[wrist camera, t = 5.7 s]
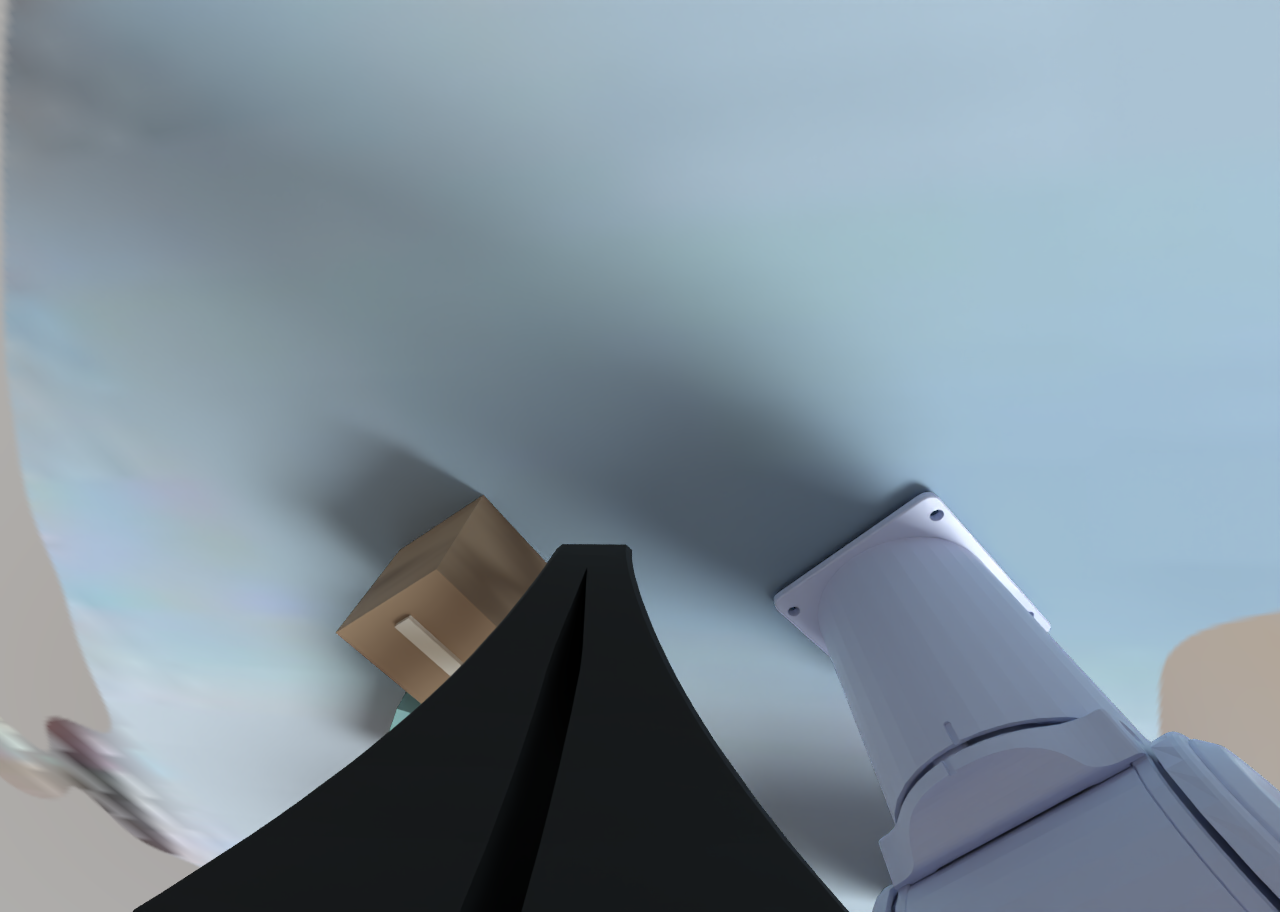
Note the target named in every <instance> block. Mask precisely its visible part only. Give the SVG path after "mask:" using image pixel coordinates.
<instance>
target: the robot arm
mask: <svg viewBox="0 0 1280 912" xmlns="http://www.w3.org/2000/svg"><path fill="white" fill-rule="evenodd" d="M935 510H939V511H938V513H937V514H936V515H933V516H930V514H931V513H932V512H933V511H935ZM774 605H775V608H776V609H777V611H779V612H780V613H781V614H782V615H783V616H784V617H785V618H787V619H788V620H789V621H790V622H791V623H792V624H793V625H794V626H796V627H797V628H798V629H799V630H800V631H801V632H802V633H803V634H805V635H806V636H807V637H808V638H809V639H810V640H811V641H812V642H814V643H815V644H816V645H817V646H818V647H819V648H820V649H821V650H823V651H824V652H825V653H826V654H827V655H828V656H829V657H830V658H831V659H832V662H833V665H834V667H835V670H836V672H837V675H838V678H839V680H840V683H841V685H842V688H843V691H844V693H845V696H846V698H847V701H848V704H849V706H850V709H851V711H852V714H853V717H854V719H855V722H856V724H857V727H858V730H859V732H860V735H861V737H862V740H863V743H864V745H865V748H866V750H867V753H868V756H869V758H870V761H871V763H872V766H873V769H874V771H875V774H876V776H877V779H878V782H879V784H880V787H881V789H882V792H883V795H884V797H885V800H886V802H887V805H888V808H889V810H890V813H891V815H892V818H893V821H894V823H895V826H894V828H893V829H892V830H891V831H890V832H889V833H888V834H887V835H885V836H884V837H882V838H881V839H880V840H879V841H878V843H879V846H880V849H881V852H882V855H883V857H884V860H885V863H886V866H887V869H888V872H889V875H890V878H891V880H892V883H893V884H892V885H890V886H888V887H886V888H884V889H883V891H882V892H881V893H880V895H879V896H878V897H877V899H876V901H875V904H874V907H873V911H872V912H1280V791H1279V790H1278V789H1276V788H1275V787H1274V786H1273V785H1272V784H1270V783H1269V782H1268V781H1267V780H1266V779H1264V778H1263V777H1262V776H1261V775H1260V774H1258V773H1257V772H1256V771H1255V770H1253V769H1252V768H1251V767H1250V766H1249V765H1248V764H1246V763H1245V762H1244V761H1243V760H1241V759H1240V758H1239V757H1238V756H1236V755H1235V754H1233V753H1232V752H1231V751H1229V750H1228V749H1227V748H1225V747H1223V746H1221V745H1218V744H1214V743H1209V742H1205V741H1201V740H1197V739H1192V740H1191V739H1189V738H1188V737H1186V736H1185V735H1183V734H1180V733H1177V732H1169V733H1166V734H1164V735H1162V736H1161V737H1159V738H1157V739H1155V740H1154V741H1152V743H1151V742H1150V741H1149V740H1147V739H1146V738H1145V737H1144V736H1143V735H1142V734H1141V733H1140V732H1139V731H1138V730H1137V729H1136V727H1135V726H1134V725H1133V724H1132V723H1131V722H1130V721H1129V720H1128V719H1127V718H1126V717H1125V716H1124V714H1123V713H1122V712H1121V711H1120V710H1119V709H1118V708H1117V707H1116V706H1115V705H1114V704H1113V703H1112V702H1111V700H1110V699H1109V698H1108V697H1107V696H1106V695H1105V694H1104V693H1103V692H1102V691H1101V690H1100V689H1099V687H1098V686H1097V685H1096V684H1095V683H1094V682H1093V681H1092V680H1091V679H1090V678H1089V677H1088V676H1087V675H1086V673H1085V672H1084V671H1083V670H1082V669H1081V668H1080V667H1079V666H1078V665H1077V664H1076V663H1075V662H1074V661H1073V659H1072V658H1071V657H1070V656H1069V655H1068V654H1067V653H1066V652H1065V651H1064V650H1063V649H1062V648H1061V646H1060V645H1059V644H1058V643H1057V642H1056V641H1055V640H1054V639H1053V638H1052V637H1051V636H1050V635H1049V634H1048V631H1049V630H1050V626H1051V625H1050V623H1049V621H1048V620H1047V619H1046V618H1045V617H1044V616H1043V615H1042V613H1041V612H1040V611H1039V610H1038V609H1037V608H1036V607H1035V606H1034V604H1033V603H1032V602H1031V601H1030V600H1029V599H1028V598H1027V596H1026V595H1025V594H1024V593H1023V592H1022V591H1021V590H1020V589H1019V587H1018V586H1017V585H1016V584H1015V583H1014V582H1013V581H1012V579H1011V578H1010V577H1009V576H1008V575H1007V574H1006V573H1005V572H1004V570H1003V569H1002V568H1001V567H1000V566H999V565H998V564H997V562H996V561H995V560H994V559H993V558H992V557H991V556H990V555H989V553H988V552H987V551H986V550H985V549H984V548H983V547H982V545H981V544H980V543H979V542H978V541H977V540H976V539H975V538H974V536H973V535H972V534H971V533H970V532H969V531H968V530H967V528H966V527H965V526H964V525H963V524H962V523H961V522H960V520H959V519H958V518H957V517H956V516H955V515H954V514H953V513H952V511H951V510H950V509H949V508H948V507H947V506H946V505H945V503H944V502H943V501H942V500H941V499H940V498H939V497H938V496H937V495H936V494H934V493H932V492H924V493H922V494H920V495H918V496H916V497H915V498H914V499H912V500H911V501H909V502H908V503H906V504H905V505H903V506H902V507H901V508H899V509H898V510H896V511H895V512H893V513H892V514H891V515H889V516H888V517H886V518H885V519H883V520H882V521H880V522H879V523H878V524H876V525H875V526H873V527H872V528H870V529H869V530H868V531H866V532H865V533H863V534H862V535H860V536H859V537H857V538H856V539H855V540H853V541H852V542H850V543H849V544H847V545H846V546H845V547H843V548H842V549H840V550H839V551H837V552H836V553H834V554H833V555H832V556H830V557H829V558H827V559H826V560H824V561H823V562H822V563H820V564H819V565H817V566H816V567H814V568H813V569H811V570H810V571H809V572H807V573H806V574H804V575H803V576H801V577H800V578H799V579H797V580H796V581H794V582H793V583H791V584H790V585H788V586H787V587H786V588H784V589H783V590H781V591H780V592H778V593H777V594H776V595H775V597H774ZM791 607H797V608H796V609H794V610H789V609H790V608H791ZM133 912H849V911H848V910H847V909H846V908H845V907H844V905H843V904H842V903H841V902H840V901H839V900H838V899H837V897H836V896H835V895H834V894H833V893H832V892H831V891H830V889H829V888H828V887H827V886H826V885H825V884H824V883H823V881H822V880H821V879H820V878H819V877H818V876H817V874H816V873H815V872H814V871H813V870H812V868H811V867H810V866H809V865H808V864H807V862H806V861H805V860H804V859H803V858H802V856H801V855H800V854H799V853H798V852H797V850H796V849H795V848H794V847H793V846H792V844H791V843H790V842H789V841H788V840H787V838H786V837H785V836H784V834H783V833H782V832H781V831H780V829H779V828H778V827H777V825H776V824H775V823H774V822H773V820H772V819H771V818H770V817H769V815H768V814H767V813H766V811H765V810H764V809H763V808H762V806H761V805H760V804H759V802H758V801H757V800H756V799H755V797H754V796H753V794H752V793H751V792H750V790H749V789H748V787H747V786H746V784H745V783H744V782H743V780H742V779H741V777H740V776H739V775H738V773H737V772H736V770H735V769H734V768H733V766H732V765H731V763H730V762H729V760H728V759H727V758H726V756H725V755H724V753H723V752H722V751H721V749H720V748H719V746H718V745H717V744H716V742H715V741H714V739H713V737H712V736H711V734H710V733H709V731H708V729H707V728H706V726H705V725H704V723H703V722H702V720H701V718H700V717H699V715H698V714H697V712H696V710H695V709H694V707H693V705H692V703H691V702H690V700H689V698H688V697H687V695H686V693H685V691H684V690H683V688H682V686H681V684H680V682H679V681H678V679H677V677H676V675H675V673H674V671H673V669H672V667H671V665H670V663H669V661H668V659H667V657H666V655H665V653H664V651H663V649H662V647H661V645H660V643H659V640H658V638H657V636H656V633H655V631H654V629H653V627H652V624H651V621H650V619H649V616H648V614H647V611H646V609H645V606H644V604H643V601H642V598H641V595H640V592H639V588H638V585H637V581H636V578H635V574H634V570H633V564H632V550H631V549H630V548H629V547H628V546H627V545H598V544H562V545H561V546H560V547H559V548H557V549H556V551H555V552H554V554H553V555H552V557H551V558H550V560H549V561H548V563H547V564H546V565H545V567H544V568H543V570H542V571H541V572H540V574H539V575H538V576H537V578H536V579H535V580H534V582H533V583H532V584H531V586H530V587H529V588H528V590H527V591H526V592H525V593H524V595H523V596H522V597H521V598H520V600H519V601H518V602H517V603H516V605H515V606H514V607H513V608H512V609H511V611H510V612H509V613H508V614H507V616H506V617H505V618H504V619H503V620H502V622H501V623H500V624H499V625H498V626H497V627H496V628H495V629H494V631H493V632H492V633H491V634H490V635H489V636H488V637H487V638H486V639H485V640H484V642H483V643H482V644H481V645H480V646H479V647H478V648H477V649H476V650H475V651H474V653H473V654H472V655H471V656H470V657H469V658H468V659H467V660H466V661H465V662H464V663H463V664H462V665H461V666H460V667H459V668H458V669H457V670H456V671H455V672H454V673H453V674H452V675H451V676H450V677H449V678H448V679H447V680H446V681H445V682H444V683H443V684H442V685H441V686H440V687H439V688H438V689H437V690H436V691H434V692H433V693H432V694H431V695H430V696H429V697H428V698H427V699H426V700H425V701H424V702H423V703H422V704H420V705H419V706H418V707H417V708H416V709H415V710H414V711H413V712H411V713H410V714H409V715H408V716H407V717H406V718H404V719H403V720H402V721H401V722H400V723H399V724H397V725H396V726H395V727H394V728H393V729H392V730H390V731H389V732H388V733H387V734H386V735H385V736H383V737H382V738H381V739H380V740H379V741H377V742H376V743H375V744H374V745H373V746H371V747H370V748H369V749H368V750H366V751H365V752H364V753H363V754H361V755H360V756H359V757H358V758H356V759H355V760H354V761H353V762H351V763H350V764H349V765H347V766H346V767H345V768H343V769H342V770H341V771H339V772H338V773H337V774H335V775H334V776H333V777H331V778H330V779H328V780H327V781H326V782H324V783H323V784H322V785H320V786H319V787H318V788H316V789H315V790H314V791H312V792H311V793H310V794H308V795H307V796H306V797H304V798H303V799H302V800H300V801H299V802H297V803H296V804H295V805H293V806H292V807H290V808H289V809H288V810H286V811H285V812H283V813H282V814H281V815H279V816H278V817H276V818H275V819H273V820H272V821H270V822H269V823H268V824H266V825H265V826H263V827H262V828H260V829H259V830H257V831H256V832H254V833H253V834H251V835H250V836H249V837H247V838H245V839H244V840H242V841H241V842H239V843H238V844H236V845H235V846H233V847H232V848H230V849H228V850H227V851H225V852H224V853H222V854H221V855H219V856H218V857H216V858H215V859H213V860H211V861H210V862H208V863H207V864H205V865H204V866H202V867H201V868H199V869H198V870H196V871H194V872H193V873H191V874H190V875H188V876H187V877H185V878H184V879H182V880H181V881H179V882H177V883H176V884H174V885H173V886H171V887H170V888H168V889H167V890H165V891H164V892H162V893H161V894H159V895H157V896H156V897H154V898H152V899H151V900H149V901H147V902H146V903H144V904H143V905H141V906H139V907H138V908H136V909H134V911H133Z"/></svg>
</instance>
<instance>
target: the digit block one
mask: <svg viewBox="0 0 1280 912" xmlns="http://www.w3.org/2000/svg"><path fill="white" fill-rule="evenodd" d="M546 564H547V563H546V562H545V561H544V560H543V559H542V557H541V556H540V555H539V554H538V553H537V552H536V551H535V550H534V549H533V548H532V547H531V546H530V545H529V543H528V542H527V541H526V540H525V539H524V538H523V537H522V536H521V535H520V534H519V533H518V532H517V531H516V529H515V528H514V527H513V526H512V525H511V524H510V523H509V522H508V521H507V520H506V519H505V518H504V517H503V515H502V514H501V513H500V512H499V511H498V510H497V509H496V508H495V507H494V506H493V505H492V504H491V503H490V501H489V500H488V499H487V498H486V497H485V496H484V495H482V496H481V497H479V498H478V499H476V500H475V501H473V502H472V503H470V504H469V505H467V506H466V507H464V508H463V509H461V510H460V511H458V512H457V513H455V514H454V515H452V516H451V517H449V518H448V519H446V520H445V521H443V522H442V523H440V524H439V525H437V526H436V527H434V528H433V529H431V530H430V531H428V532H426V533H425V534H423V535H422V536H420V537H419V538H417V539H416V540H414V541H413V542H411V543H410V544H408V545H407V546H405V547H404V548H402V549H401V550H399V552H398V553H397V554H396V556H395V557H394V558H393V559H392V561H391V562H390V563H389V565H388V566H387V567H386V568H385V570H384V571H383V572H382V574H381V575H380V576H379V577H378V579H377V580H376V581H375V583H374V584H373V585H372V586H371V588H370V589H369V590H368V592H367V593H366V594H365V596H364V597H363V598H362V599H361V601H360V602H359V603H358V605H357V606H356V607H355V608H354V610H353V611H352V612H351V614H350V615H349V616H348V617H347V619H346V620H345V621H344V623H343V624H342V625H341V627H340V628H339V629H338V630H337V632H336V633H337V634H338V635H339V636H340V637H341V638H343V639H344V640H345V641H346V642H347V643H349V644H350V645H351V646H352V647H353V648H355V649H356V650H357V651H358V652H359V653H361V654H362V655H363V656H364V657H365V658H367V659H368V660H369V661H370V662H371V663H373V664H374V665H375V666H376V667H377V668H379V669H380V670H381V671H382V672H383V673H385V674H386V675H387V676H388V677H390V678H391V679H392V680H393V681H394V682H396V683H397V684H398V685H399V686H400V687H402V688H403V689H404V690H405V691H406V692H408V693H409V694H410V695H411V696H412V697H414V698H415V699H416V700H417V701H418V702H420V703H421V704H422V703H423V702H424V701H425V700H426V699H427V698H428V697H429V696H430V695H431V694H432V693H433V692H434V691H436V690H437V689H438V688H439V687H440V686H441V685H442V684H443V683H444V682H445V681H446V680H447V679H448V678H449V677H450V676H451V675H452V674H453V673H454V672H455V671H456V670H457V669H458V668H459V667H460V666H461V665H462V664H463V663H464V662H465V661H466V660H467V659H468V658H469V657H470V656H471V655H472V654H473V653H474V651H475V650H476V649H477V648H478V647H479V646H480V645H481V644H482V643H483V642H484V640H485V639H486V638H487V637H488V636H489V635H490V634H491V633H492V632H493V631H494V629H495V628H496V627H497V626H498V625H499V624H500V623H501V622H502V620H503V619H504V618H505V617H506V616H507V614H508V613H509V612H510V611H511V609H512V608H513V607H514V606H515V605H516V603H517V602H518V601H519V600H520V598H521V597H522V596H523V595H524V593H525V592H526V591H527V590H528V588H529V587H530V586H531V584H532V583H533V582H534V580H535V579H536V578H537V576H538V575H539V574H540V572H541V571H542V570H543V568H544V567H545V565H546Z"/></svg>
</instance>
